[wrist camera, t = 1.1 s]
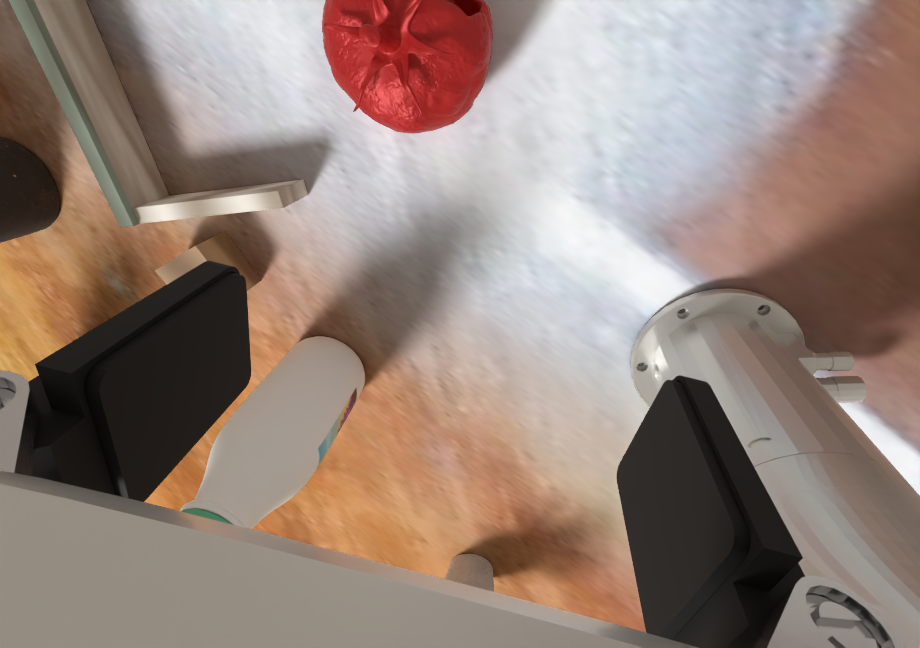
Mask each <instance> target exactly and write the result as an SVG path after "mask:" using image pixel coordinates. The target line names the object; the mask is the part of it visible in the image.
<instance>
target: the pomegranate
mask: <svg viewBox="0 0 920 648" xmlns="http://www.w3.org/2000/svg"><path fill="white" fill-rule="evenodd" d="M322 32H323V42H324V49H325V53H326V56H327V59H328V62H329V64H330V66H331V70H332V74H333V76H334V78H335V80H336V82H337V83H338V85H339V86H340V87H341V88H342V89H343V90H344V91H345V92H346V93H347V94H348V95H349V97H350V98H351V99H352V100H353V101H354V102H355V103H356V107H355V109H354V111H356V110H357V109H358V108H360V109H361V110H362V111H363V112H364V113H365V114H367V115H368V116H369V117H371V118H372V119H373V120H375V121H376V122H378V123H380V124H382V125H384V126H386V127H389V128H391V129H392V130H395V131H397V132H403V133H421V132H426V131H432V130H436V129H439V128H442V127H444V126H447V125H450V124H453V123H454V122H456V121H457V120H459V119H460V118H461V117H462V116H464V115H465V114H466V113H467V112H468V111H469V110H470V108H471V107H472V105H473V102H474V100H475V98H476V97H477V96H478V94H479V93H480V91H481V89H482V87H483V84H484V82H485V79H486V75H487V71H488V67H489V63H490V58H491V51H492V38H493V30H492V21H491V14H490V9H489V7H488V5H487V4H486V3H485V2H484V1H483V0H326V2H325V5H324V11H323V20H322ZM354 111H353V112H354Z"/></svg>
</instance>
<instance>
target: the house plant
mask: <svg viewBox="0 0 920 648" xmlns="http://www.w3.org/2000/svg"><path fill="white" fill-rule="evenodd" d="M445 579H446V580H450V581H454V582H458V583H462V584H465V585H469V586H473V587H477V588H481V589H484V590H488V591H492V592H494V582H493V568H492V565H491V564H490V562H489V561H488V560H486V559H485V558H483V557H481V556H479V555H476V554H461V555H457V556H455V557H454V558H453V559H452V561H451V564H450V566H449V569H448V572H447V574H446V577H445Z"/></svg>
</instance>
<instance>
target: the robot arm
mask: <svg viewBox="0 0 920 648" xmlns="http://www.w3.org/2000/svg"><path fill="white" fill-rule="evenodd" d="M681 309H683V310H682V311H679V310H681ZM35 365H36V368H37V371H38V374H39V376H37V377H36V378H34V379H32V380H31V381H29V382H28V381H27V380H26V379H25V378H24V377H23V376H22V375H19V374H16V373H13V372H10V371H1V370H0V648H920V496H919V495H918V493H917V492H916V491H915V490H914V489H913V488H912V487H911V486H910V484H909V483H908V482H907V481H906V480H905V479H904V478H903V476H902V475H901V474H900V473H899V472H898V471H897V470H896V469H895V467H894V466H893V465H892V464H891V463H890V462H889V461H888V459H887V458H886V457H885V456H884V455H883V454H882V453H881V452H880V450H879V449H878V448H877V447H876V446H875V445H874V444H873V442H872V441H871V440H870V439H869V438H868V437H867V436H866V435H865V433H864V432H863V431H862V430H861V429H860V428H859V427H858V425H857V424H856V423H855V422H854V421H853V420H852V419H851V418H850V416H849V415H848V414H847V413H846V412H845V411H844V410H843V409H842V407H841V406H840V405H839V404H838V403H843V402H862V401H864V400H865V398H866V391H867V389H866V386H865V383H864V381H863V380H862V378H860V377H858V376H836V377H827V378H815V377H814V376H813V374H814V373H815V372H816V370H828V371H849V370H852V368H853V366H854V359H853V356H852V355H851V353H850V352H848V351H842V352H826V353H814V352H813V351H812V350H808V349H807V348H806V345H805V340H804V336H803V332H802V330H801V329H800V327H799V325H798V323H797V321H796V320H795V319H794V318H793V317H792V316H791V315H790V313H789V312H788V311H787V310H785V309H784V308H783V307H782V306H781V305H780V304H778V303H777V302H776V301H774V300H772V299H770V298H768V297H766V296H764V295H762V294H759V293H755V292H752V291H748V290H741V289H732V288H727V289H712V290H707V291H702V292H698V293H694V294H691V295H689V296H686V297H683V298H681V299H678V300H677V301H675V302H673V303H671V304H670V305H668V306H666V307H664V308H663V309H662V310H661V311H659V312H658V313H657V314H656V315H654V316H653V317H652V318H651V319H650V320H649V321H648V322H647V324H646V325H645V326H644V327H643V328H642V330H641V331H640V333H639V335H638V336H637V338H636V340H635V343H634V345H633V348H632V351H631V359H630V368H631V375H632V379H633V382H634V385H635V388H636V390H637V391H638V393H639V395H640V397H641V398H642V399H643V400H644V401H645V403H646V404H647V405H648V406H649V407H650V409H649V411H648V412H647V414H646V416H645V418H644V420H643V422H642V423H641V425H640V427H639V429H638V431H637V433H636V434H635V436H634V438H633V440H632V442H631V444H630V445H629V447H628V449H627V451H626V453H625V455H624V456H623V458H622V460H621V462H620V464H619V466H618V470H617V484H618V489H619V494H620V499H621V504H622V509H623V515H624V520H625V525H626V530H627V535H628V540H629V546H630V551H631V556H632V561H633V566H634V571H635V576H636V582H637V587H638V592H639V597H640V602H641V607H642V613H643V618H644V623H645V628H646V632H647V633H645V632H642V631H638V630H634V629H631V628H627V627H624V626H620V625H617V624H613V623H609V622H606V621H602V620H598V619H594V618H590V617H587V616H583V615H579V614H575V613H571V612H568V611H564V610H560V609H556V608H553V607H549V606H545V605H541V604H537V603H534V602H530V601H526V600H522V599H518V598H515V597H511V596H507V595H503V594H500V593H496V592H492V591H488V590H484V589H481V588H477V587H473V586H469V585H465V584H462V583H458V582H454V581H450V580H446V579H442V578H439V577H435V576H431V575H427V574H423V573H419V572H415V571H412V570H408V569H404V568H400V567H396V566H392V565H388V564H385V563H381V562H377V561H373V560H369V559H365V558H361V557H357V556H354V555H350V554H346V553H342V552H338V551H334V550H330V549H326V548H322V547H319V546H315V545H311V544H307V543H303V542H299V541H295V540H291V539H287V538H284V537H280V536H276V535H272V534H268V533H264V532H260V531H256V530H252V529H248V528H244V527H240V526H236V525H232V524H228V523H224V522H220V521H216V520H212V519H208V518H204V517H200V516H196V515H192V514H189V513H185V512H181V511H177V510H173V509H169V508H165V507H161V506H157V505H153V504H149V503H145V502H144V501H145V500H146V499H147V498H148V497H149V496H150V495H151V494H152V492H153V491H154V490H155V489H156V488H157V487H158V486H159V485H160V483H161V482H162V481H163V480H164V479H165V478H166V477H167V476H168V474H169V473H170V472H171V471H172V470H173V469H174V468H175V467H176V465H177V464H178V463H179V462H180V461H181V460H182V459H183V458H184V456H185V455H186V454H187V453H188V452H189V451H190V450H191V449H192V447H193V446H194V445H195V444H196V443H197V442H198V441H199V440H200V438H201V437H202V436H203V435H204V434H205V433H206V432H207V431H208V429H209V428H210V427H211V426H212V425H213V424H214V423H215V422H216V420H217V419H218V418H219V417H220V416H221V415H222V414H223V413H224V411H225V410H226V409H227V408H228V407H229V406H230V405H231V404H232V402H233V401H234V400H235V399H236V398H237V397H238V396H239V395H240V393H241V392H242V391H243V390H244V389H245V388H246V386H247V385H248V383H249V380H250V377H251V360H250V342H249V324H248V306H247V288H246V279H245V277H244V276H243V275H240V273H239V271H238V269H237V268H236V267H234V266H230V265H225V264H221V263H217V262H213V261H206V262H203V263H202V264H200V265H199V266H197V267H195V268H194V269H192V270H190V271H189V272H187V273H185V274H184V275H182V276H180V277H179V278H177V279H175V280H174V281H172V282H170V283H169V284H167V285H165V286H164V287H162V288H161V289H159V290H157V291H156V292H154V293H152V294H151V295H149V296H147V297H146V298H144V299H142V300H141V301H139V302H137V303H136V304H134V305H132V306H131V307H129V308H127V309H126V310H124V311H122V312H121V313H119V314H118V315H116V316H114V317H113V318H111V319H109V320H108V321H106V322H104V323H103V324H101V325H99V326H98V327H96V328H94V329H93V330H91V331H89V332H88V333H86V334H84V335H83V336H81V337H80V338H78V339H76V340H75V341H73V342H71V343H70V344H68V345H66V346H65V347H63V348H61V349H60V350H58V351H56V352H55V353H53V354H51V355H50V356H48V357H46V358H45V359H43V360H41V361H40V362H38V363H37V364H35Z"/></svg>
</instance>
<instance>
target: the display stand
mask: <svg viewBox="0 0 920 648" xmlns="http://www.w3.org/2000/svg"><path fill="white" fill-rule="evenodd" d="M9 2H10V4H11V6H12V8H13V10H14V12H15V14H16V17H17V19H18V21H19V23H20V25H21V27H22V29H23V31H24V33H25V35H26V37H27V39H28V41H29V43H30V45H31V47H32V49H33V51H34V53H35V55H36V57H37V59H38V61H39V63H40V65H41V67H42V69H43V71H44V73H45V75H46V77H47V79H48V81H49V83H50V85H51V88H52V90H53V92H54V94H55V96H56V98H57V100H58V102H59V104H60V106H61V108H62V110H63V112H64V114H65V116H66V118H67V120H68V122H69V124H70V126H71V128H72V130H73V132H74V134H75V136H76V138H77V140H78V142H79V144H80V146H81V148H82V150H83V152H84V154H85V156H86V159H87V161H88V163H89V165H90V167H91V169H92V171H93V173H94V175H95V177H96V179H97V181H98V183H99V185H100V187H101V189H102V191H103V193H104V195H105V197H106V199H107V201H108V203H109V205H110V207H111V209H112V211H113V213H114V215H115V217H116V219H117V221H118V223H119V225H120V227H128V226H134V225H137V224H140V223H149V222H159V221H168V220H177V219H186V218H195V217H204V216H214V215H223V214H232V213H241V212H250V211H259V210H268V209H278V208H284V207H286V206H288V205H290V204H292V203H294V202H295V201H297V200H299V199H301V198H303V197H305V196H307V195H308V193H307V189H306V186H305V182H304V179H303V180H294V181H286V182H278V183H270V184H262V185H254V186H245V187H237V188H229V189H221V190H213V191H205V192H196V193H188V194H180V195H172V196H169V194H168V191H167V189H166V187H165V184H164V182H163V180H162V177H161V175H160V173H159V170H158V168H157V166H156V163H155V161H154V159H153V156H152V154H151V152H150V149H149V147H148V145H147V142H146V140H145V138H144V135H143V133H142V131H141V128H140V126H139V124H138V121H137V119H136V117H135V114H134V112H133V110H132V107H131V105H130V103H129V100H128V98H127V96H126V93H125V91H124V89H123V86H122V84H121V82H120V79H119V77H118V75H117V72H116V70H115V68H114V65H113V63H112V61H111V58H110V56H109V54H108V51H107V49H106V47H105V44H104V42H103V40H102V37H101V35H100V33H99V30H98V28H97V26H96V23H95V21H94V19H93V16H92V14H91V12H90V9H89V7H88V5H87V2H86V0H9Z"/></svg>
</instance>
